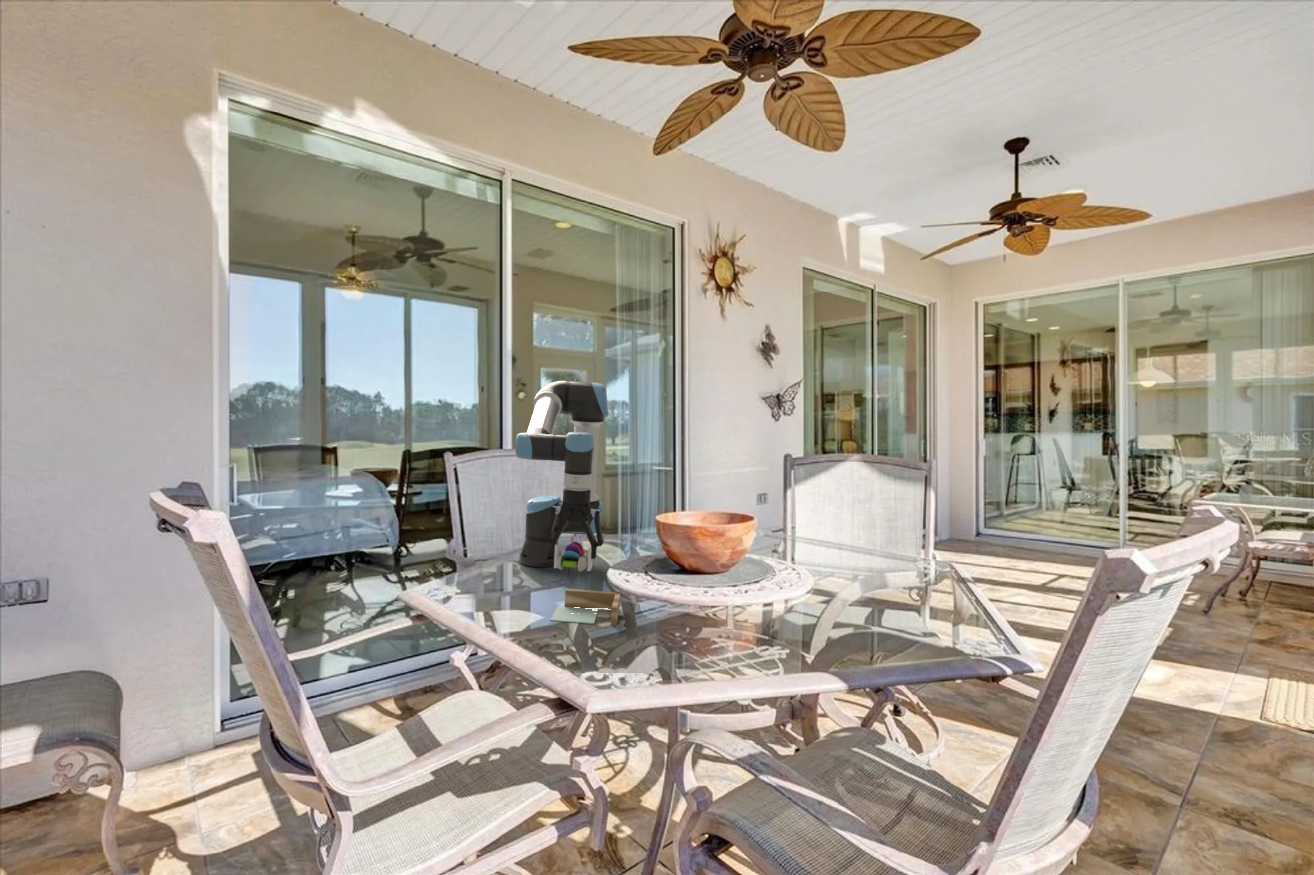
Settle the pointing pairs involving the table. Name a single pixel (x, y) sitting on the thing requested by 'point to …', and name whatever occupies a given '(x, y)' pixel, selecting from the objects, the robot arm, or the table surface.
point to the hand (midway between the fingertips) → (572, 568)
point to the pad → (574, 615)
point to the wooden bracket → (594, 601)
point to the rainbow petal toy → (573, 557)
